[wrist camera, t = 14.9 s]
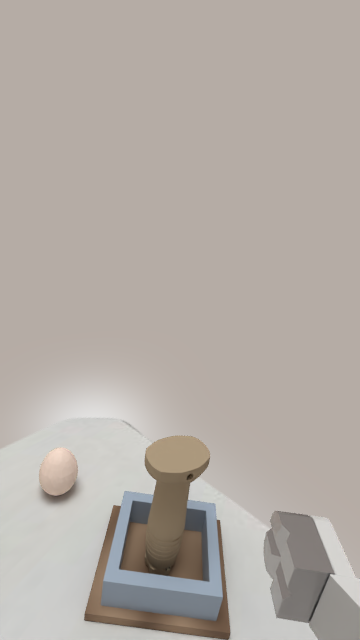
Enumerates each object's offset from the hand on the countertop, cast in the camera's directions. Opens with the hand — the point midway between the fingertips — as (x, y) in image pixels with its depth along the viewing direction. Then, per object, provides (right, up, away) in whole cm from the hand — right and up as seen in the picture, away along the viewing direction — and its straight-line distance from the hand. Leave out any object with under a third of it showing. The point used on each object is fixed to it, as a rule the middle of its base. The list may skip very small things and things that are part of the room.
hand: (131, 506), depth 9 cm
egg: (-15, -18, +35) cm, 42 cm away
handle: (-1, -22, +27) cm, 35 cm away
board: (-1, -23, +28) cm, 36 cm away
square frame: (-1, -23, +28) cm, 36 cm away
